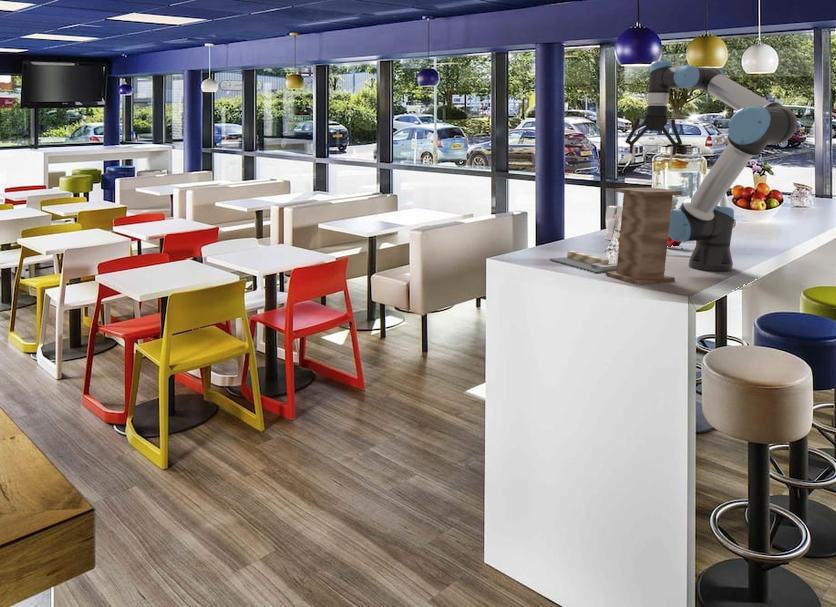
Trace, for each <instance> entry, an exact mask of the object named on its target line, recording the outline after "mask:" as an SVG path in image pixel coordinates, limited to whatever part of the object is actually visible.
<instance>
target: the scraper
mask: <svg viewBox="0 0 836 607" xmlns="http://www.w3.org/2000/svg"><path fill="white" fill-rule="evenodd" d="M567 258H570V259H573V260H577V261H581V262H585V263H588V264H591V267H592V268H596V269H600V270H611V269H617V262H615V261H610V259H607V258H602V257H599V256H596V255H591V254H587V253H583V252H579V251H576V250H567Z"/></svg>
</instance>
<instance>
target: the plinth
mask: <svg viewBox="0 0 836 607" xmlns="http://www.w3.org/2000/svg"><path fill="white" fill-rule="evenodd" d="M614 190H615V191H614V192H615V193H620V194H623V198H622V206H621V207H622V218H621V223H620V227H619V230H620V231H619V238H618V241H619V242H618V250H617V251H618V252H617V262H616V263H617V271H611V272H605V276H606V275H607V276H606V277H609V276H610V278H613V279H617V280H619V281H620V280H621V281H623V280H624V282H627V281H628V282H627V283H630V282H631V284H634V283H636V284H635V285H637V284H639V285H638V286H640V284H643V285H650V284H649V283H653V284H658V283H657V282H662V283H668V282H667V281H671V282H675V279H676V278H675V277H674V276H670V275H665V269H666V261H667V260H666V259H667V251H668V247H667V243H668V236H669V235H668V234H669V225H670V216H671V210H672V205H673V196H682V195H683V190H676V189H675V190H673V189H666V188H659V187H651V186H648V187H647V186H646V187H620V188H619V187H618V188H617V187H615V189H614Z"/></svg>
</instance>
